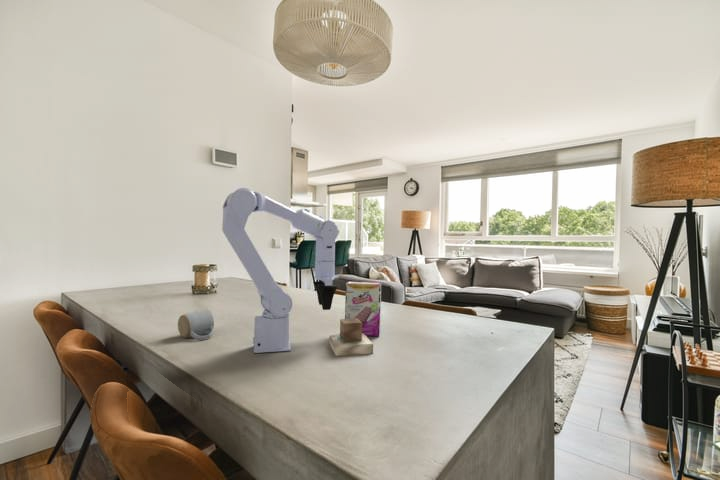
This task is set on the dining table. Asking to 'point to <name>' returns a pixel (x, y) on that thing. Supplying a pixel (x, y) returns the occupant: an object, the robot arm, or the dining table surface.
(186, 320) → the ceramic mug
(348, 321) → the walnut cube
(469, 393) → the dining table surface
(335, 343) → the base
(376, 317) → the candy bar box
